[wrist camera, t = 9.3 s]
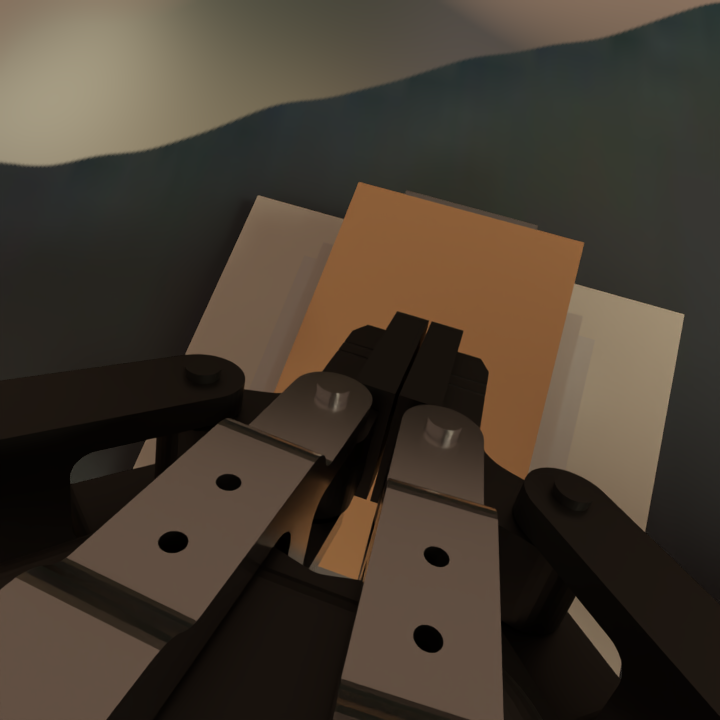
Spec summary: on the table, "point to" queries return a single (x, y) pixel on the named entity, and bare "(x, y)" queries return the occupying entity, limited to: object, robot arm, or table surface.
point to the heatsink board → (567, 386)
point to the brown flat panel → (443, 316)
